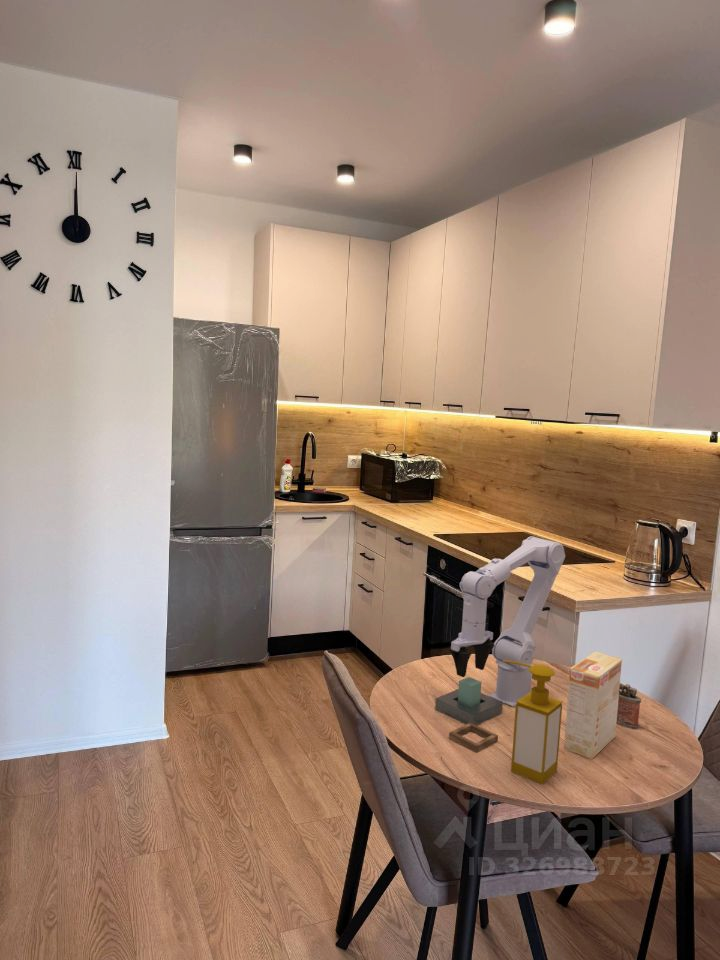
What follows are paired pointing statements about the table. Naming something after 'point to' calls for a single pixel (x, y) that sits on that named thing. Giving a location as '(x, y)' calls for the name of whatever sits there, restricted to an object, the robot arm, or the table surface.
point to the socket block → (468, 708)
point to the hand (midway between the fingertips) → (470, 672)
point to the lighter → (628, 707)
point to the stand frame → (457, 737)
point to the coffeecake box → (592, 704)
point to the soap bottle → (536, 729)
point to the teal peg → (469, 692)
